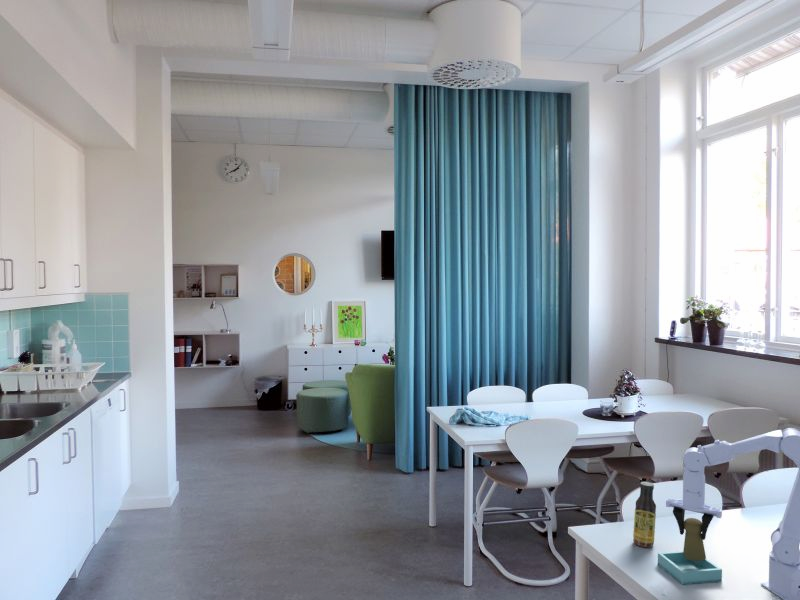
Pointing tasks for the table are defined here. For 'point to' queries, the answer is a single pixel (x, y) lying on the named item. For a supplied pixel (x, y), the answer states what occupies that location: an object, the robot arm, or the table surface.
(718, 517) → the robot arm
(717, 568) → the teal bin
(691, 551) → the cork
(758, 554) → the table surface
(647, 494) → the sauce bottle
